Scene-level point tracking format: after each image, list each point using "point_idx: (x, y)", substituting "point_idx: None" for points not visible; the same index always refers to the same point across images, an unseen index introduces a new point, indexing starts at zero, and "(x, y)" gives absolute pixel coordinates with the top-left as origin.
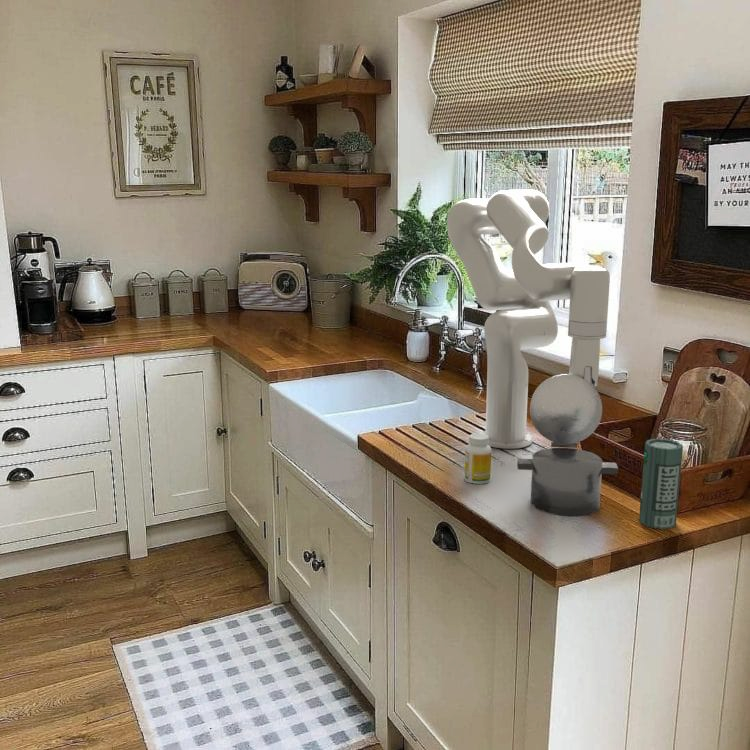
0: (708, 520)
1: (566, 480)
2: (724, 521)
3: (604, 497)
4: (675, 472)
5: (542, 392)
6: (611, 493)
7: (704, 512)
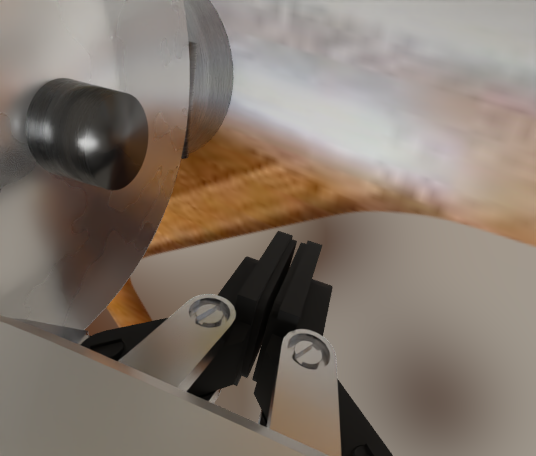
0: (113, 300)
1: None
2: (113, 317)
3: (192, 183)
4: None
5: None
6: (214, 208)
7: (140, 312)
